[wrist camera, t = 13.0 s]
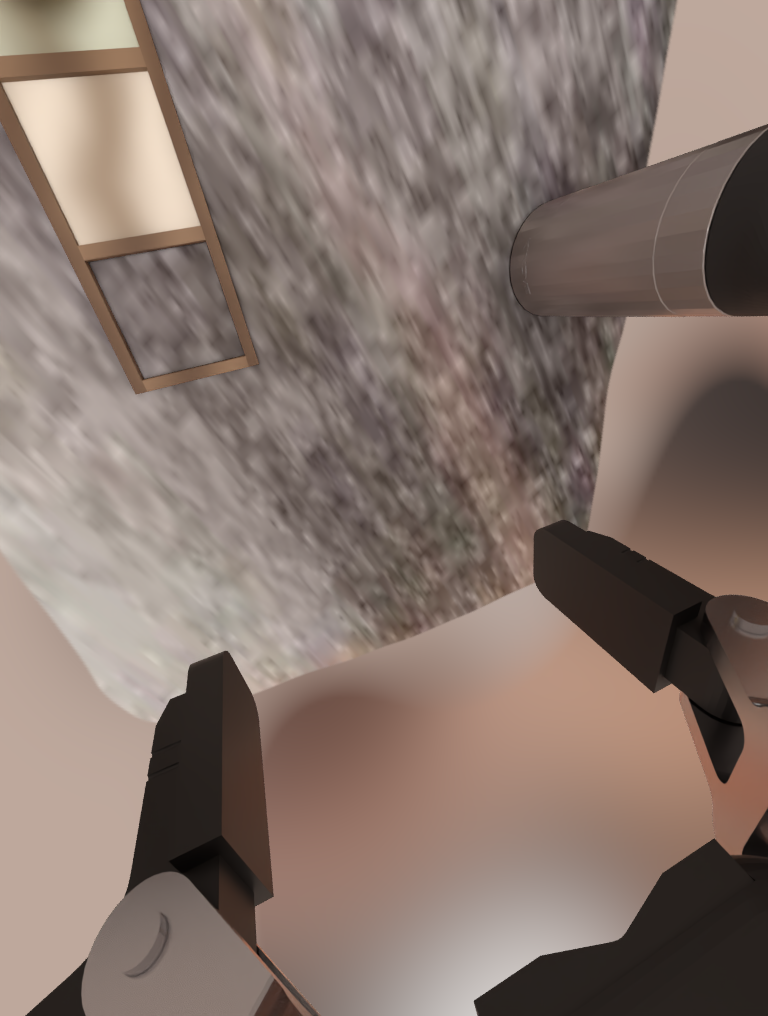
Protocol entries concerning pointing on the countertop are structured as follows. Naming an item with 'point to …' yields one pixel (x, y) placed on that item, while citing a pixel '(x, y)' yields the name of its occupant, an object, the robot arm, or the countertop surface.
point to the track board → (105, 149)
